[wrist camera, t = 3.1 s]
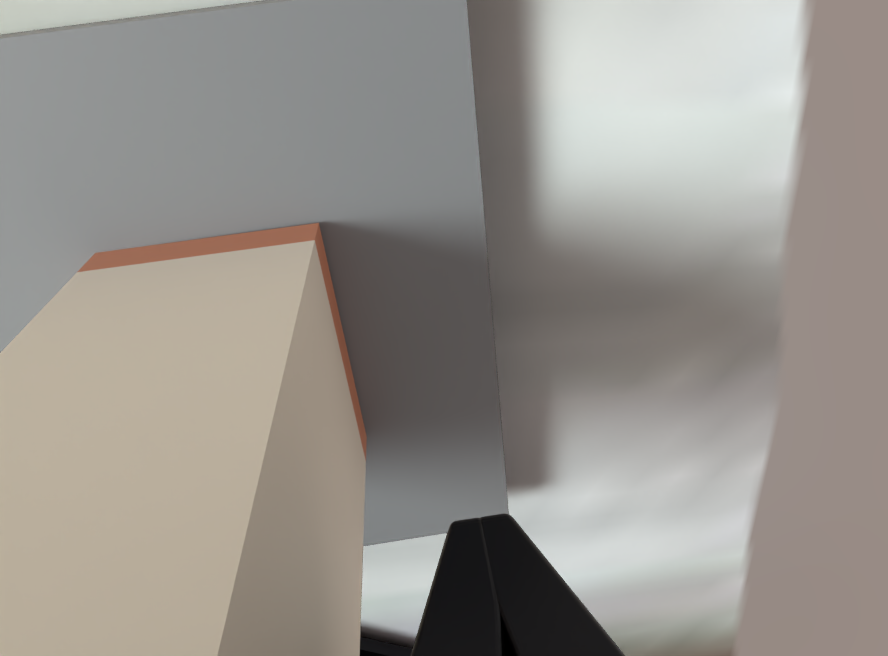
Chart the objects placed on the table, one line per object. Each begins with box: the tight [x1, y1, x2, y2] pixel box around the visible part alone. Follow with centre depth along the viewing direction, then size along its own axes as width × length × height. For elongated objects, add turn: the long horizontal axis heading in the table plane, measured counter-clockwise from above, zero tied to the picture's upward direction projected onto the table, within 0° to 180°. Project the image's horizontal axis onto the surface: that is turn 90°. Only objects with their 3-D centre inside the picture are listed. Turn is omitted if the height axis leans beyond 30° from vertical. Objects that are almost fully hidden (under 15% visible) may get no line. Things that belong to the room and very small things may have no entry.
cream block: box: [0, 223, 367, 656], centre depth 9 cm, size 4×5×9 cm
